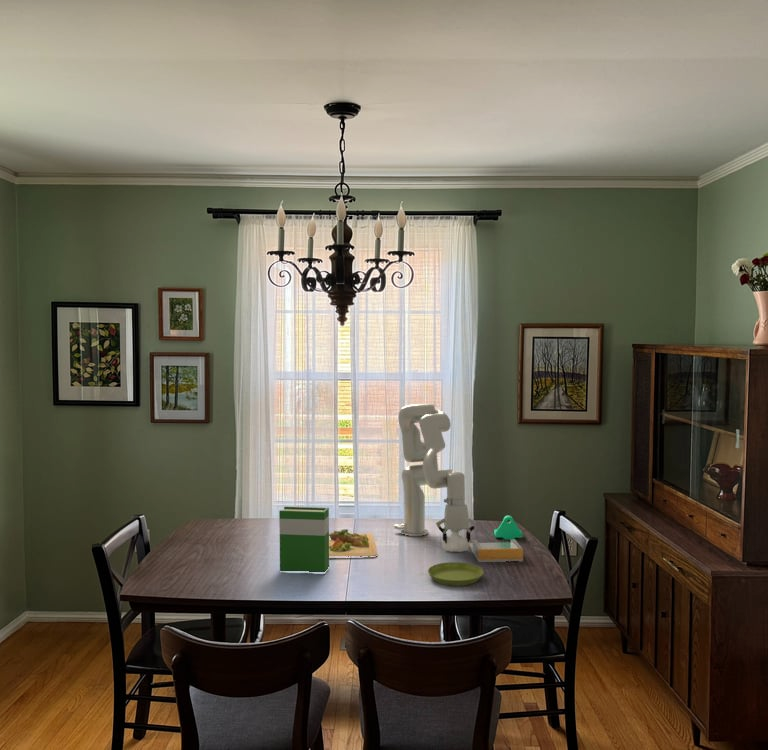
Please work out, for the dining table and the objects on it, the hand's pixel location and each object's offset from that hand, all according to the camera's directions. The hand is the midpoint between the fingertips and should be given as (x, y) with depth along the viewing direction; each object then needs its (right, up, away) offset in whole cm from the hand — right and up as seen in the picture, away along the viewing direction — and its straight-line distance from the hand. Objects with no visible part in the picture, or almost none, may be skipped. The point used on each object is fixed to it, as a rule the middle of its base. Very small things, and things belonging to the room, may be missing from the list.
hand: (456, 542), depth 293 cm
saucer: (-4, -5, -35) cm, 36 cm away
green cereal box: (-62, -5, -26) cm, 67 cm away
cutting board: (-46, -5, +7) cm, 47 cm away
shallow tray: (+16, -4, -4) cm, 16 cm away
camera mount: (+26, -3, +21) cm, 33 cm away
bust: (-1, -4, +1) cm, 4 cm away
